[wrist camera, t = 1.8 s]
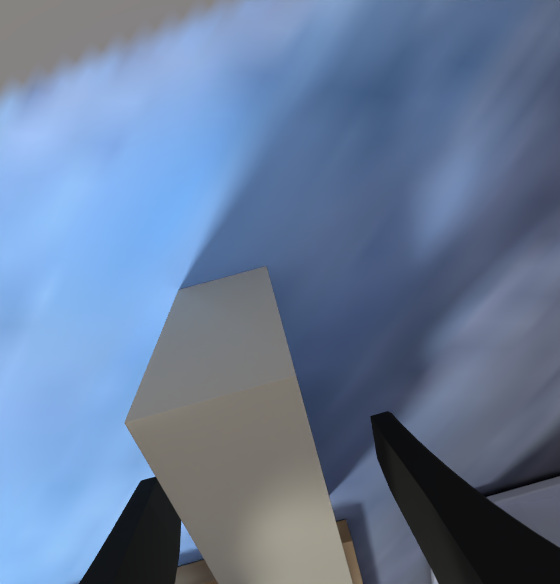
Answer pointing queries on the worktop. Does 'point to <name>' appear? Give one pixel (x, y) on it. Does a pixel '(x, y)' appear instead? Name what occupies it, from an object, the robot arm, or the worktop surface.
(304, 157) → the worktop surface
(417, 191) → the worktop surface
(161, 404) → the cream rectangular block
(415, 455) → the robot arm
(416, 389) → the worktop surface
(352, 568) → the ridged tan board
